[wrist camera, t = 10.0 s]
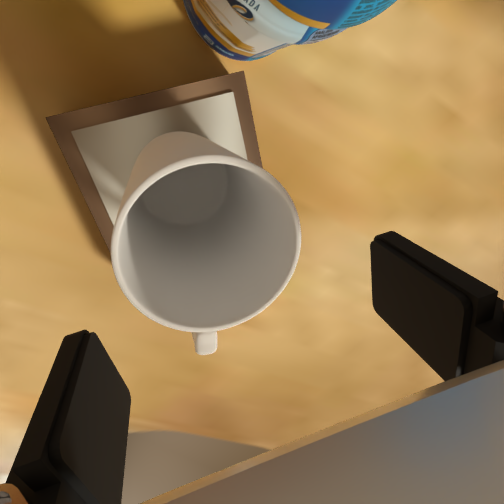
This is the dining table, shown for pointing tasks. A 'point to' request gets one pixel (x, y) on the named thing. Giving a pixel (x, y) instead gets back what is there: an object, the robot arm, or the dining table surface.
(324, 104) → the dining table surface
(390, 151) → the dining table surface
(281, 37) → the beverage bottle
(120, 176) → the walnut picture frame
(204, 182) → the mug
